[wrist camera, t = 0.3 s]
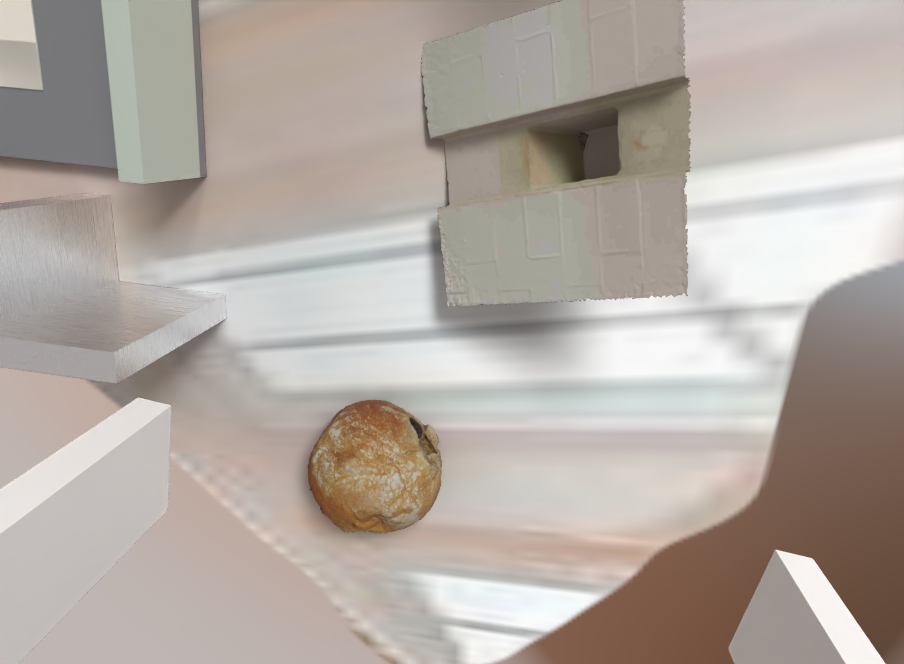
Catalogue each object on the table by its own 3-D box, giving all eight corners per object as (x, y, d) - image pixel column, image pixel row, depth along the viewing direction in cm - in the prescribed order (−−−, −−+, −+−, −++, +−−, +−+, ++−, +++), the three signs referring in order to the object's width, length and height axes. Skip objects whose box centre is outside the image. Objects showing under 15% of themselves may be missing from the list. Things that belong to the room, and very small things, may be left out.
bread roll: (459, 450, 47) (482, 474, 40) (375, 547, 46) (381, 592, 38) (370, 371, 46) (376, 379, 38) (281, 468, 45) (268, 498, 37)
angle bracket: (99, 301, 43) (-54, 359, 32) (86, 192, 40) (-85, 213, 29) (226, 317, 42) (117, 383, 31) (221, 207, 39) (100, 235, 28)
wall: (532, 295, 43) (738, 298, 31) (443, 312, 37) (654, 323, 26) (516, 63, 40) (733, -25, 29) (418, 45, 35) (639, -73, 23)
